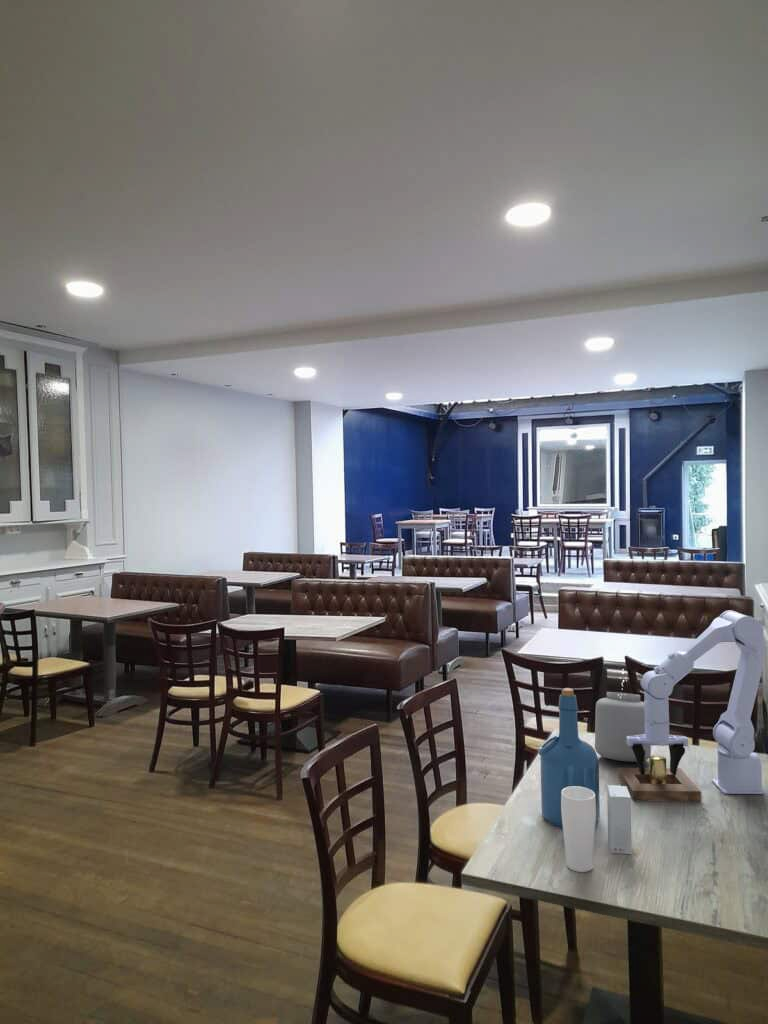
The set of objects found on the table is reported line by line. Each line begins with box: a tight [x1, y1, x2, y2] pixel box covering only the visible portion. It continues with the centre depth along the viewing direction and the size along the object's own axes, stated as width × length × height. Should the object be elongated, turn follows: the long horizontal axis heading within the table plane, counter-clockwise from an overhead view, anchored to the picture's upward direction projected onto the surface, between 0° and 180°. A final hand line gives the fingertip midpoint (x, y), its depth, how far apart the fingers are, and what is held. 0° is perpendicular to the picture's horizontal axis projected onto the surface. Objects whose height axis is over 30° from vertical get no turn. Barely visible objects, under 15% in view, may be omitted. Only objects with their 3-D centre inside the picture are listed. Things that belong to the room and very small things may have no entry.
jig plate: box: [617, 767, 702, 803], centre depth 173 cm, size 16×14×2 cm
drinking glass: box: [561, 786, 597, 873], centre depth 138 cm, size 7×7×15 cm
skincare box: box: [606, 784, 632, 855], centre depth 146 cm, size 6×4×12 cm
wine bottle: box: [537, 687, 601, 829], centre depth 159 cm, size 14×13×30 cm
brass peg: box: [648, 754, 667, 784], centre depth 173 cm, size 4×4×8 cm
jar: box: [594, 668, 652, 763], centre depth 193 cm, size 19×15×25 cm
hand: (657, 773), depth 173 cm, fingers open, 7 cm apart
